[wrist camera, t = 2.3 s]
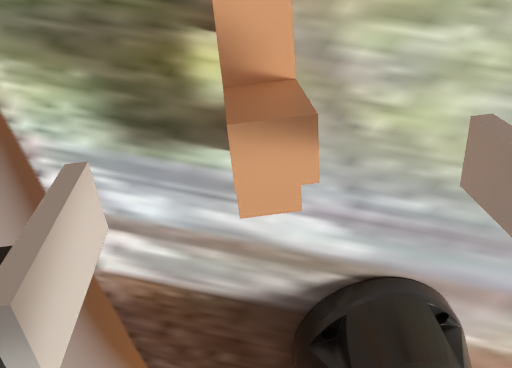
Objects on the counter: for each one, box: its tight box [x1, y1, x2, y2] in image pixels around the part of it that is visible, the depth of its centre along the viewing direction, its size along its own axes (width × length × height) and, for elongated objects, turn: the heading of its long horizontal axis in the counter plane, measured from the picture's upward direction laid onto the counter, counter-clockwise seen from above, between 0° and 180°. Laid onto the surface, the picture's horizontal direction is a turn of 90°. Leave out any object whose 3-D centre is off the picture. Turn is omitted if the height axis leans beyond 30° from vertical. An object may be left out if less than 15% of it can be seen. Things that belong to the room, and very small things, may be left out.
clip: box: [212, 0, 319, 218], centre depth 23 cm, size 12×4×12 cm, turn 5°
